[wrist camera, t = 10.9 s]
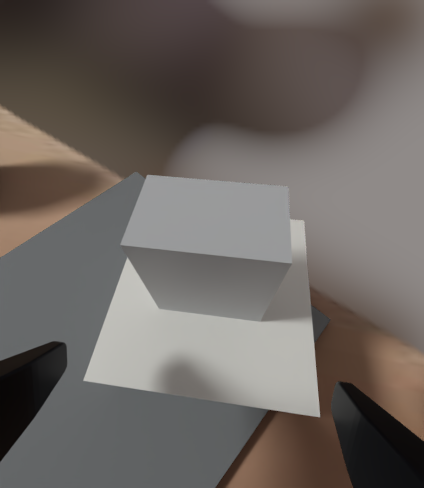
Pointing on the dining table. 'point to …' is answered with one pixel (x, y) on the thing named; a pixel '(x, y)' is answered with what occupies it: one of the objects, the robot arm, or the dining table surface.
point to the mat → (96, 394)
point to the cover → (212, 298)
